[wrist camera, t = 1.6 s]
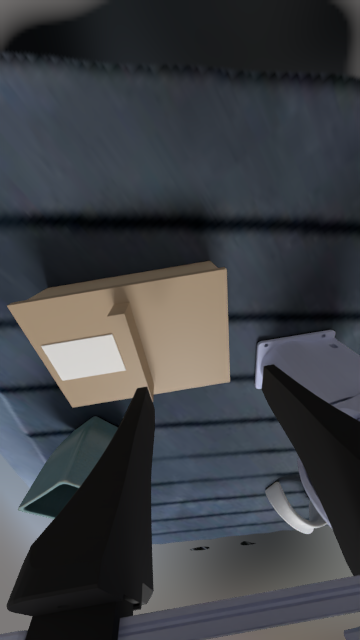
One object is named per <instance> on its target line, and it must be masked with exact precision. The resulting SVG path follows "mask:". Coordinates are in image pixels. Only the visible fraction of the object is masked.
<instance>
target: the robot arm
mask: <svg viewBox="0 0 360 640" xmlns="http://www.w3.org/2000/svg"><path fill="white" fill-rule="evenodd" d="M335 334H336V332H335V331H333V330H326V331H320V332H314V333H308V334H302V335H296V336H290V337H283V338H277V339H271V340H265V341H260V342H258V344H257V354H256V371H255V387H256V388H257V389H261V388H262V391H263V393H264V396H265V398H266V400H267V402H268V404H269V406H270V408H271V410H272V411H273V413H274V415H275V416H276V418H277V420H278V421H279V423H280V425H281V426H282V428H283V430H284V431H285V433H286V434H287V436H288V438H289V439H290V441H291V443H292V445H293V446H294V448H295V450H296V452H297V454H298V456H299V457H298V461H297V464H298V470H299V474H300V478H301V481H302V484H303V486H304V489H305V491H306V493H307V495H308V497H309V498H310V500H311V502H312V503H313V505H314V507H315V508H316V510H317V511H318V512H319V514H320V515H321V516H322V518H323V519H324V520H325V521H326V523H327V524H328V525H329V526H330V527H331V528H332V529H333V531H334V534H335V536H336V539H337V541H338V543H339V545H340V548H341V550H342V553H343V555H344V557H345V560H346V562H347V564H348V566H349V568H350V570H351V572H352V574H353V575H354V576H352V577H347V578H341V579H335V580H330V581H324V582H318V583H313V584H307V585H302V586H296V587H291V588H285V589H279V590H274V591H268V592H263V593H257V594H251V595H246V596H240V597H235V598H229V599H223V600H218V601H212V602H207V603H202V604H195V605H190V606H185V607H179V608H173V609H167V610H162V611H156V612H151V613H145V614H140V615H134V616H133V611H134V610H140V609H141V605H144V604H147V603H148V601H149V599H150V597H151V595H152V593H153V570H152V533H151V468H152V456H153V443H154V431H155V409H154V405H153V402H152V399H151V396H150V393H149V390H148V387H141V388H137V389H136V391H135V394H134V396H133V398H132V401H131V403H130V405H129V407H128V409H127V411H126V413H125V415H124V417H123V419H122V421H121V423H120V425H119V427H118V429H117V431H116V432H115V434H114V436H113V438H112V440H111V441H110V443H109V445H108V446H107V448H106V450H105V451H104V453H103V454H102V456H101V457H100V459H99V461H98V462H97V464H96V465H95V466H94V468H93V469H92V471H91V472H90V474H89V475H88V477H87V478H86V479H85V481H84V482H83V483H82V485H81V486H80V487H79V489H78V490H77V491H76V492H75V494H74V495H73V496H72V498H71V499H70V500H69V501H68V503H67V504H66V505H65V507H64V508H63V509H62V510H61V512H60V513H59V514H58V515H57V516H56V518H55V519H54V520H53V521H52V522H51V523H50V525H49V526H48V527H47V528H46V529H45V530H44V532H43V533H42V534H41V535H40V536H39V537H38V538H37V540H36V541H35V542H34V543H33V544H32V545H31V547H30V550H29V552H28V554H27V556H26V558H25V560H24V563H23V565H22V568H21V570H20V573H19V575H18V578H17V580H16V583H15V586H14V588H13V591H12V593H11V595H10V598H9V600H8V603H7V609H8V610H9V611H11V612H14V613H19V614H24V615H29V616H33V617H32V620H31V623H30V626H29V629H28V631H16V632H10V633H5V634H0V640H206V639H211V638H217V637H222V636H228V635H233V634H239V633H245V632H250V631H256V630H261V629H267V628H273V627H278V626H283V625H289V624H294V623H300V622H306V621H311V620H317V619H323V618H328V617H334V616H339V615H345V614H350V613H356V612H360V356H359V355H358V354H356V353H355V352H354V351H352V350H351V349H349V348H348V347H346V346H345V345H344V344H342V343H341V342H339V341H338V340H336V339H335V338H334V337H335ZM265 344H266V345H265ZM344 636H345V638H346V640H360V626H359V627H357V628H353V629H348V630H344Z"/></svg>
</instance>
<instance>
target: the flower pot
mask: <svg viewBox="0 0 360 640" xmlns="http://www.w3.org/2000/svg"><path fill="white" fill-rule="evenodd" d="M117 429H118V427H116V426H114V425H112V424H110V423H108V422H106V421H104V420H102V419H101V418H99V417H96V416H94V417H92V418H91V419H89V420H88V421H87V422H85V423H84V424H83V425H81V426H80V427H79V428H77V429H76V430H75V431H74V432H73V433H71V434H70V435H69V436H68V437H67V438H66V439H65V440H64V441H63V442H62V443H61V444H60V445H59V446H58V447H57V449H56V450H55V451H54V452H53V454H52V455H51V456H50V457H49V459H48V460H47V462H46V463H45V465H44V466H43V468H42V470H41V471H40V473H39V475H38V476H37V478H36V480H35V481H34V483H33V485H32V486H31V488H30V490H29V491H28V493H27V494H26V496H25V498H24V499H23V501H22V503H21V504H20V506H19V508H18V510H19V511H22V512H26V513H30V514H35V515H39V516H43V517H48V518H52V519H55V518H56V516H57V515H58V514H59V513H60V512H61V510H62V509H63V508H64V507H65V505H66V504H67V503H68V501H69V500H70V499H71V498H72V496H73V495H74V494H75V492H76V491H77V490H78V489H79V487H80V486H81V485H82V483H83V482H84V481H85V479H86V478H87V477H88V475H89V474H90V472H91V471H92V469H93V468H94V466H95V465H96V464H97V462H98V461H99V459H100V457H101V456H102V454H103V453H104V451H105V450H106V448H107V446H108V445H109V443H110V441H111V440H112V438H113V436H114V434H115V432H116V431H117Z"/></svg>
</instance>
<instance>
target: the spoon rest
mask: <svg viewBox="0 0 360 640" xmlns="http://www.w3.org/2000/svg"><path fill="white" fill-rule="evenodd" d="M265 493H266V495H267V497H268V499H269V501H270V503H271V504H272V506H273V507H274V509H275V510H276V511H277V513H278V514H279V515H280V516H281V517H282V518H283V519H284V520H285V521H286V522H287V523H288V524H289V525H291V526H292V527H293V528H295V529H296V530H298V531H300V532H302V533H305V534H310V533H312V532H313V529H314V528H318V527H322V526H324V525H326V524H327V523H326V521H325V520H324V519H323V518H322V516H321V515H320V514H319V512H318V511H317V510H316V508H315V507H314V505H313V503H312V502H311V500H310V503H309V518H310V521H308V520H306V519H304V518H302V517H301V516H300V515H298V514H297V513H296V512H295V510H294V509H293V508H292V507H291V505H290V503H289V502H288V500H287V498H286V496H285V494H284V492H283V490H282V487H281V485H280V483H279V482H275V483H274V484H273V485H271V486H270V487H269V488H267V489H266V491H265Z"/></svg>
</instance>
